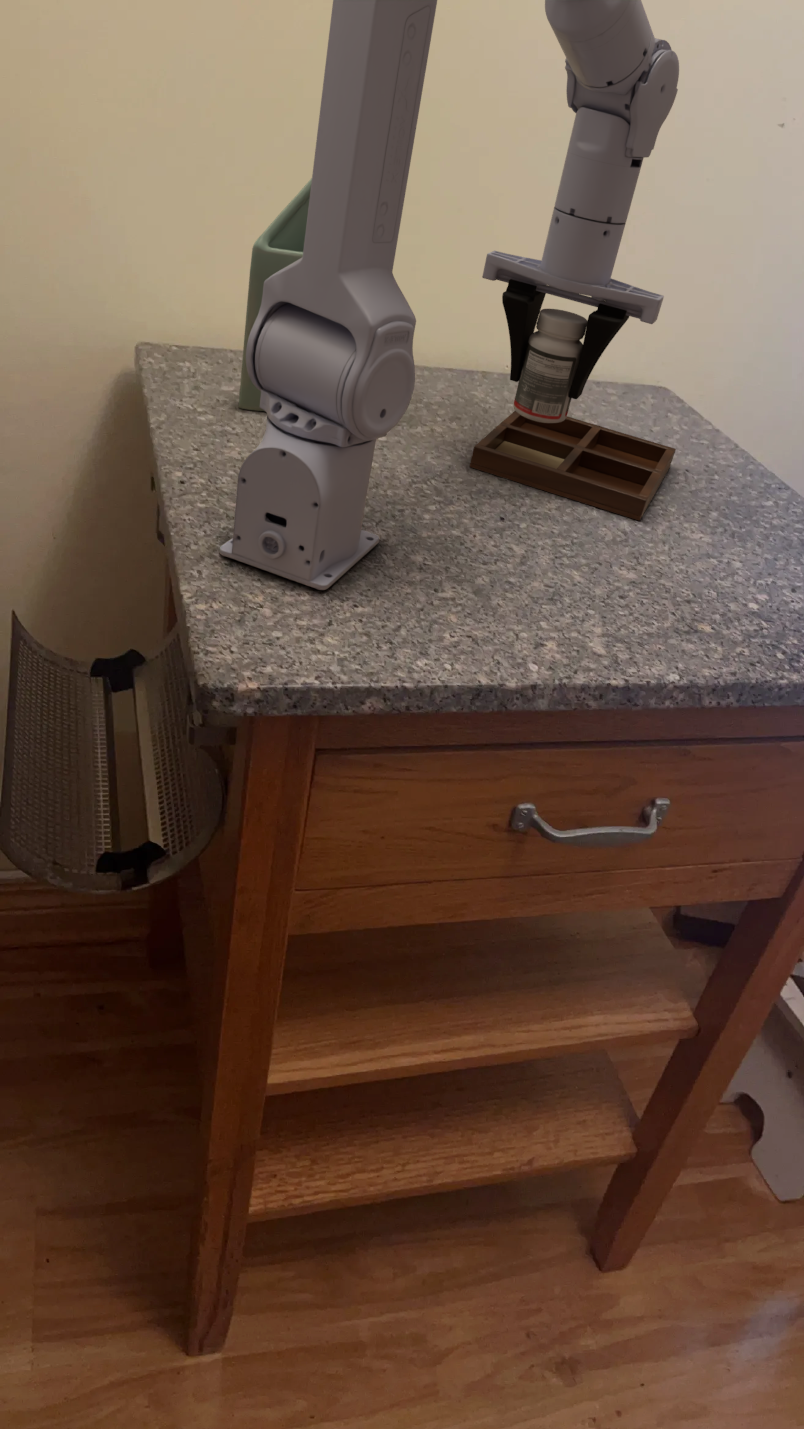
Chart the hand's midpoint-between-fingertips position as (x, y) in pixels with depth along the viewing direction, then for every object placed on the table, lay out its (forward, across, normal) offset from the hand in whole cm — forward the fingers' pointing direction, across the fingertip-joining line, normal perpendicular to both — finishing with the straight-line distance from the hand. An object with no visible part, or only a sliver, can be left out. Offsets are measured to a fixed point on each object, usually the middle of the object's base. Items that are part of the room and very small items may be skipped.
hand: (546, 387), depth 88 cm
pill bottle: (+3, 0, 0) cm, 3 cm away
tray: (+7, -4, -4) cm, 9 cm away
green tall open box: (+7, +19, 0) cm, 21 cm away
